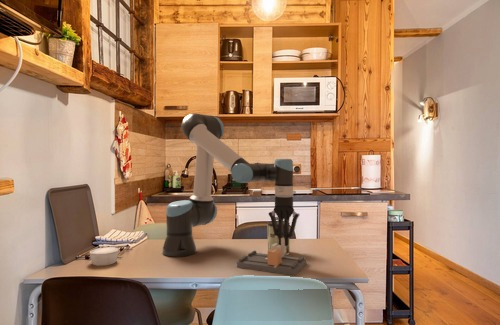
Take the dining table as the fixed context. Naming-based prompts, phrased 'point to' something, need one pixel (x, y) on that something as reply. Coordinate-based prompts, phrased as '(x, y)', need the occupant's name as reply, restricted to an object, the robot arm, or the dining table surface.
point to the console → (261, 263)
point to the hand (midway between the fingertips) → (283, 253)
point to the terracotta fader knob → (274, 257)
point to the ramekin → (104, 256)
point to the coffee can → (275, 239)
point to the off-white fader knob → (276, 247)
